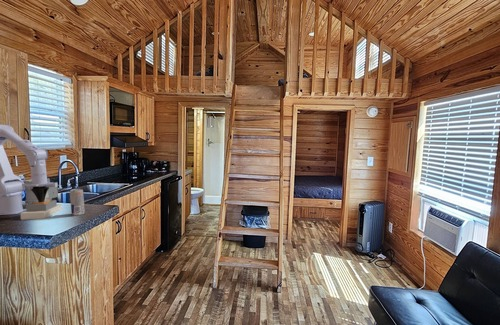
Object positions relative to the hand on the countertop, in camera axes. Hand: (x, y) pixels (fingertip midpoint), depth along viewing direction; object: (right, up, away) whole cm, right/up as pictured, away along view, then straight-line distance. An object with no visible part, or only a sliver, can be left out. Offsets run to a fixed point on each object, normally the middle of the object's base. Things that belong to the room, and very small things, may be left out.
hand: (41, 202), depth 127 cm
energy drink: (+17, -6, +1) cm, 18 cm away
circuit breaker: (-12, -5, +17) cm, 22 cm away
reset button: (0, -2, 0) cm, 2 cm away
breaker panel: (0, -6, +1) cm, 6 cm away
